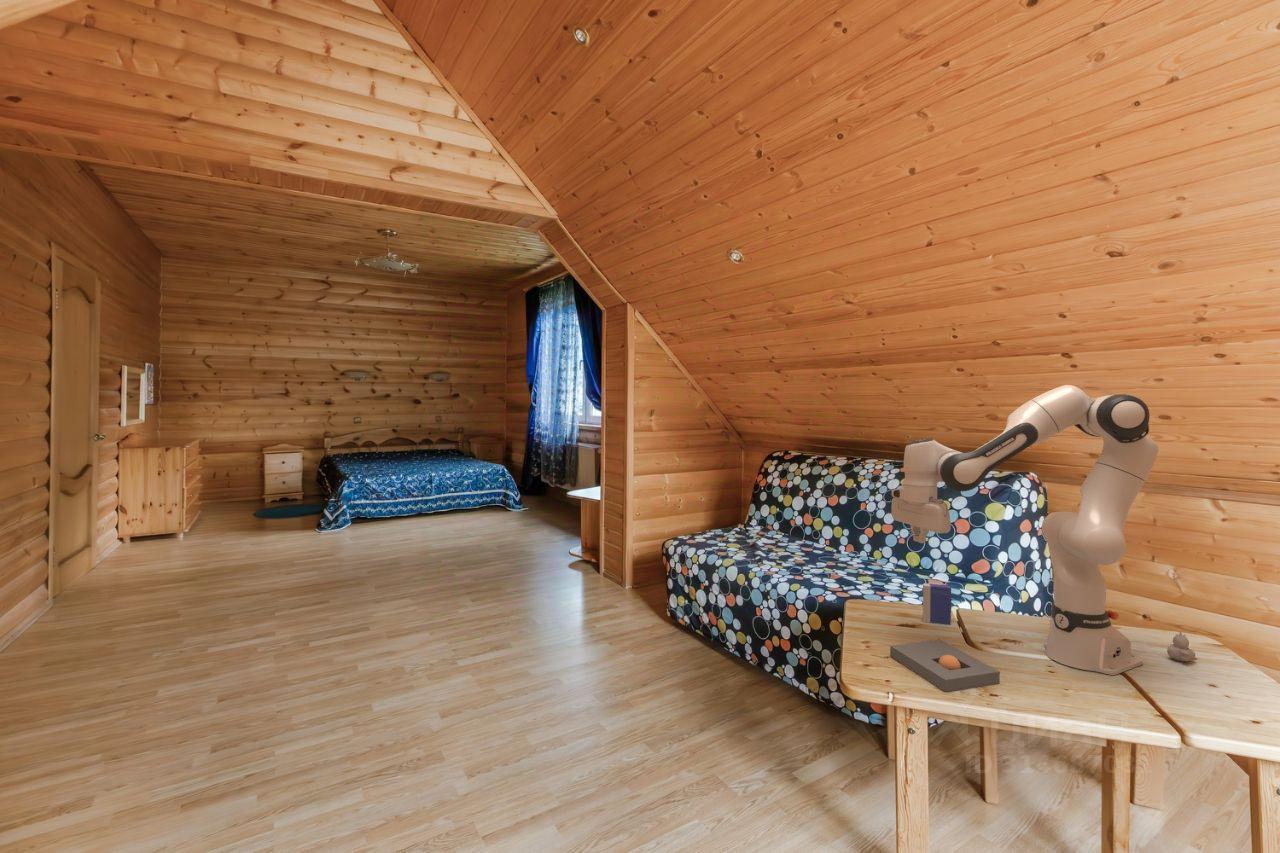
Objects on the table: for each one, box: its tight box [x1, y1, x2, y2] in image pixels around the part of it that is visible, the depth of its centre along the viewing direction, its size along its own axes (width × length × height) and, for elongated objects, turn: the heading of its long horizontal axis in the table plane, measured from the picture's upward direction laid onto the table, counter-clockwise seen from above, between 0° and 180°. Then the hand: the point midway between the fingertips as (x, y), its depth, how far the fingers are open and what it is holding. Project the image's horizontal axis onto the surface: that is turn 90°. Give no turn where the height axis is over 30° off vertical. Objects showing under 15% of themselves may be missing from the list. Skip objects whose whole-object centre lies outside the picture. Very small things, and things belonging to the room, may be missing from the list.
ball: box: [938, 655, 961, 670], centre depth 147 cm, size 5×5×5 cm
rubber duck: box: [1166, 630, 1196, 663], centre depth 153 cm, size 5×7×8 cm
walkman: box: [921, 583, 952, 626], centre depth 181 cm, size 8×3×12 cm, turn 70°
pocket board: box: [889, 638, 1001, 693], centre depth 150 cm, size 16×20×3 cm
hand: (919, 541), depth 167 cm, fingers closed
